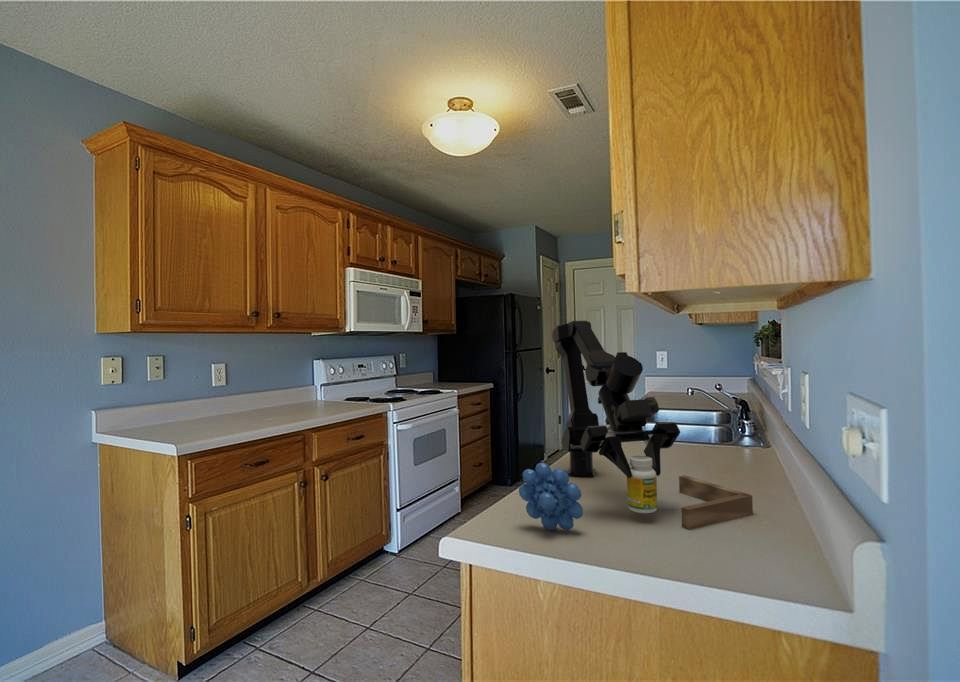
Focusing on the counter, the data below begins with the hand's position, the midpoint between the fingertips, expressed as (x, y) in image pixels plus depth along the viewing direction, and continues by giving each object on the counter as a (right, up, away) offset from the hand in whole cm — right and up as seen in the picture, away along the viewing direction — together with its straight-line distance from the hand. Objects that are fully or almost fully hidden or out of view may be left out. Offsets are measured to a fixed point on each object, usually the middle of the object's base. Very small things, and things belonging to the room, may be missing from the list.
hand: (644, 475), depth 91 cm
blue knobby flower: (-18, -9, -4) cm, 21 cm away
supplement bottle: (0, -7, +1) cm, 7 cm away
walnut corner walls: (+11, -8, +6) cm, 15 cm away
